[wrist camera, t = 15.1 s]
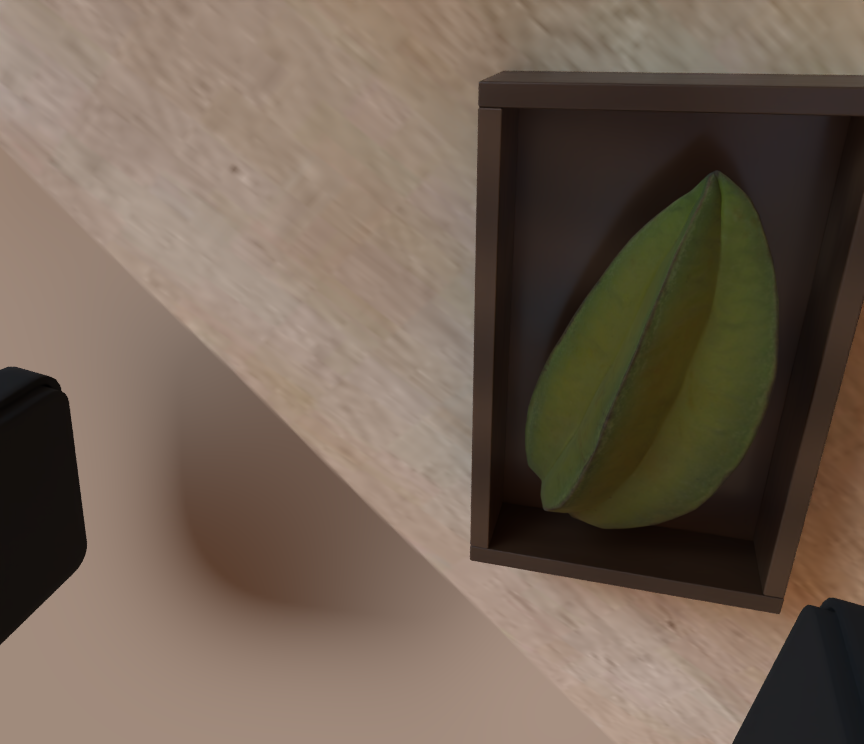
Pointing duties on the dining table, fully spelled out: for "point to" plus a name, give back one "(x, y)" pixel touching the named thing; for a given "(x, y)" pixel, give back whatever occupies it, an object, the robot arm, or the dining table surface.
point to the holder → (595, 250)
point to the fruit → (661, 367)
